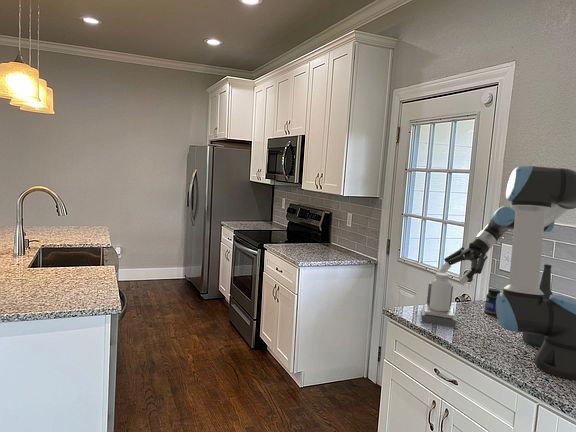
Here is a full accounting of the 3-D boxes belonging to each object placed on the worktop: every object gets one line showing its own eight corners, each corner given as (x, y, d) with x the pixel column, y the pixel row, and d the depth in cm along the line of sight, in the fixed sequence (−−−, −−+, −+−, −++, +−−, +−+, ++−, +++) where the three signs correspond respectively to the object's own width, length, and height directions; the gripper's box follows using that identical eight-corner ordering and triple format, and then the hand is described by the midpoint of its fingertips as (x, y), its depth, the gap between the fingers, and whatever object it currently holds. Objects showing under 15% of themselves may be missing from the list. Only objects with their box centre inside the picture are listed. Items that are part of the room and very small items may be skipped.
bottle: (550, 341, 167) (561, 264, 164) (555, 350, 158) (567, 269, 155) (520, 336, 170) (530, 260, 168) (523, 344, 161) (534, 264, 159)
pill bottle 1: (425, 306, 186) (428, 271, 184) (441, 306, 188) (444, 271, 187) (436, 312, 178) (440, 276, 177) (453, 311, 181) (457, 276, 179)
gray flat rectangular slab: (453, 318, 175) (453, 315, 175) (424, 314, 179) (425, 311, 179) (452, 309, 189) (452, 306, 188) (425, 305, 192) (425, 302, 192)
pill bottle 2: (481, 311, 200) (484, 288, 199) (490, 310, 203) (492, 287, 202) (493, 316, 195) (496, 292, 194) (502, 314, 198) (505, 291, 197)
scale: (455, 327, 175) (458, 296, 174) (421, 322, 179) (424, 291, 178) (453, 315, 192) (456, 286, 191) (422, 310, 196) (425, 281, 195)
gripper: (509, 255, 177) (475, 292, 173) (465, 245, 200) (435, 277, 196) (500, 242, 174) (466, 279, 171) (457, 233, 198) (426, 266, 194)
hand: (449, 278), depth 184 cm, fingers open, 13 cm apart
